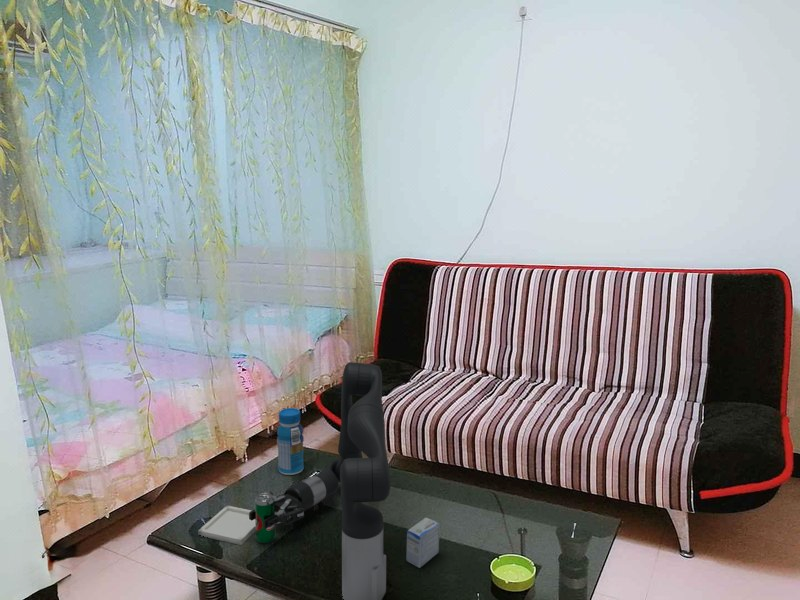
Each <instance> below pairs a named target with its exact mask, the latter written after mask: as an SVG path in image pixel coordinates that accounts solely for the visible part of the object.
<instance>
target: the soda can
mask: <svg viewBox="0 0 800 600" xmlns="http://www.w3.org/2000/svg"><path fill="white" fill-rule="evenodd" d="M273 496H274V494H273V495H272V494H270V492H261V493H259V494H258V495H256V496H255V500H254V502H253V503H254V509H255V528H256V531H255V541H257V542H258V543H260V544H264V545H265V544H270V543H272V542H273V541H274V540H275V539H276V537H277V535H276V532H277V531H276V524H274V525H273V526H271V527H268V528H264V527H263V521H264V520H265V519H266V518H268V517H270V516H272V515H274V514H275V515H276V513H275V501H274V498H273Z"/></svg>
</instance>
